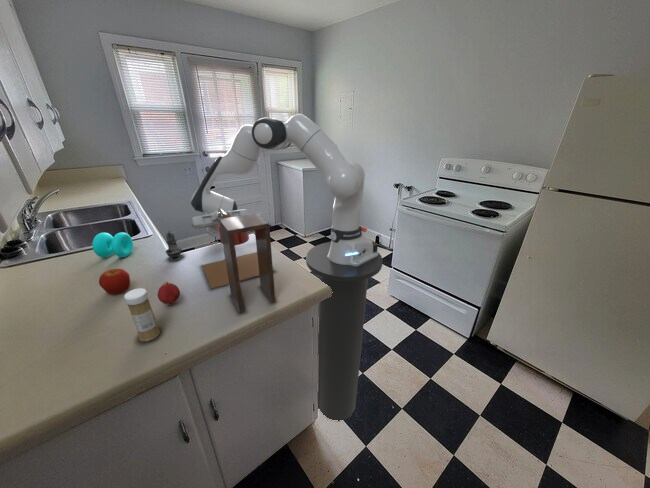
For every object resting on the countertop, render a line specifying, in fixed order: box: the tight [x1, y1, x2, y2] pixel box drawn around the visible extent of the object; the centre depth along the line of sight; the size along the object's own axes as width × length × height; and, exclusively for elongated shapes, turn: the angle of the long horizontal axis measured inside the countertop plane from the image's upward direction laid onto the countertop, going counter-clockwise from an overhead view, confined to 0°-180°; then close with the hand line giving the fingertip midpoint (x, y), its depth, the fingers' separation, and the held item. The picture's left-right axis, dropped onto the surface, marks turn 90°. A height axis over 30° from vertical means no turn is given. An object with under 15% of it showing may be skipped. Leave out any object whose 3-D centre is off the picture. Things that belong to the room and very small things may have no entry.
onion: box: [156, 281, 181, 306], centre depth 80 cm, size 6×6×8 cm
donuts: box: [91, 231, 134, 258], centre depth 107 cm, size 10×10×10 cm
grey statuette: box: [165, 230, 184, 262], centre depth 106 cm, size 6×6×12 cm
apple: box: [98, 268, 131, 295], centre depth 86 cm, size 8×8×8 cm
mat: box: [201, 252, 275, 290], centre depth 101 cm, size 22×18×1 cm
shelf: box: [219, 212, 276, 314], centre depth 80 cm, size 11×10×26 cm
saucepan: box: [218, 209, 250, 246], centre depth 93 cm, size 9×22×6 cm, turn 32°
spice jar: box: [123, 287, 161, 342], centre depth 67 cm, size 5×5×13 cm
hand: (223, 214), depth 97 cm, fingers closed on saucepan, 2 cm apart
